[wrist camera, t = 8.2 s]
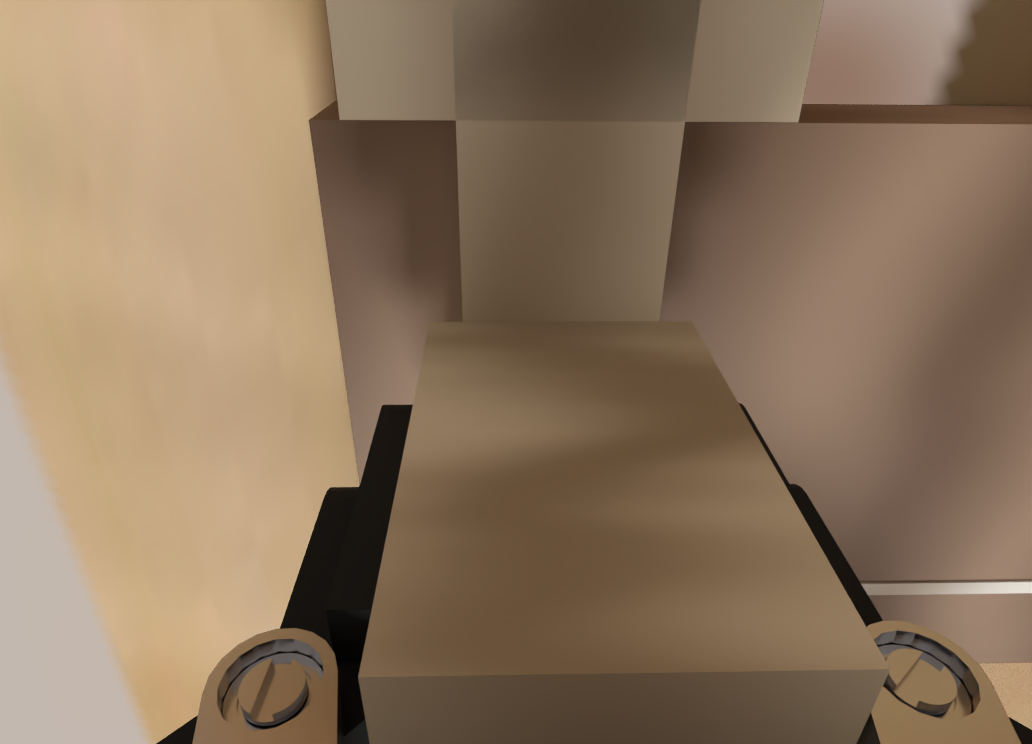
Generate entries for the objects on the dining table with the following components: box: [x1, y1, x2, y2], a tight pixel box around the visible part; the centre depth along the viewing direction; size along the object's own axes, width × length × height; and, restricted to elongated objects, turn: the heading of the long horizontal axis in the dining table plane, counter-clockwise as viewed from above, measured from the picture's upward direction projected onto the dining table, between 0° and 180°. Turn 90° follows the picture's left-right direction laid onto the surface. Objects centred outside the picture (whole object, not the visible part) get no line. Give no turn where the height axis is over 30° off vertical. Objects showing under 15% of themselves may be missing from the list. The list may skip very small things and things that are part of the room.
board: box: [309, 101, 1032, 663], centre depth 15 cm, size 26×14×2 cm, turn 89°
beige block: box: [326, 0, 890, 744], centre depth 10 cm, size 6×15×10 cm, turn 179°
